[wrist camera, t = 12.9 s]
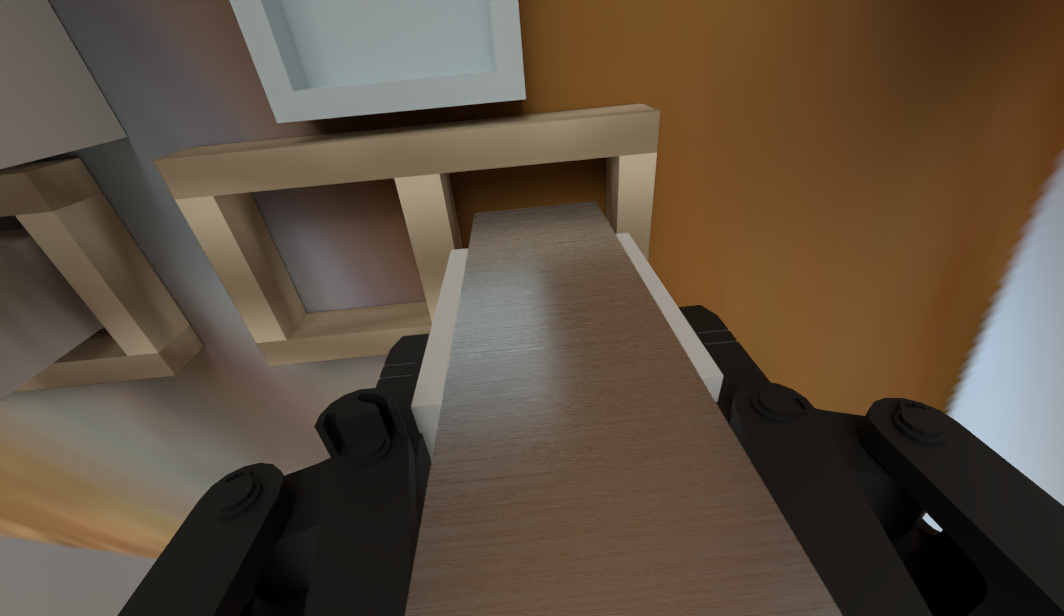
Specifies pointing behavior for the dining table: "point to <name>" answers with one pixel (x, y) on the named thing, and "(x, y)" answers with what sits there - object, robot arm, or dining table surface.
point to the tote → (382, 54)
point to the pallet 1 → (78, 288)
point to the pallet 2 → (426, 198)
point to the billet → (588, 449)
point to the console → (46, 89)
